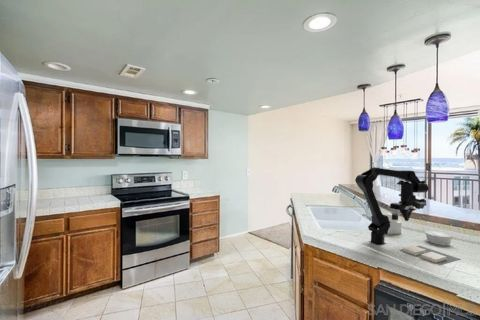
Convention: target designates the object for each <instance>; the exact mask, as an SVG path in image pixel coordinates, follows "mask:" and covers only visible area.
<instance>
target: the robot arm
mask: <svg viewBox="0 0 480 320" xmlns="http://www.w3.org/2000/svg"><path fill="white" fill-rule="evenodd" d="M378 176H386V177H392V178H395V179H398V180H399V181H397V182H396V185H400V193H399V194H398V196H399V197H400V200H399V201H398V202H391V203H390V204H389V208H390V209H391V210H392V209H393V210H397V211H399V212H400V213H401V215H402V218H403V219H404V220H405V222H408V221H409V219H410V217H411V214H413V212H415V211H416V210H420V209H424V208H425V207H426V206H427V199H425V198H419V199H418V198H417V195H415V193H416V194H419V193H424V194H425V193H427V192H428V191H429V184H427V183H426V180H423V179H420V178H419V177H418V176H417V174H416V172H415V171H414V170H409V169H408V170H407V169H397V170H395V169H388V168H382V167H377V166H376V167H375V166H373V167H370V168H369V169H368V170H366V171H363V172H362V173H361V174H359V175H357V176H356V177H355V178H354V179H355V180H354V181H355V184H356V185H357V186H358V188H359V189H360V190H361V191H362V192H363V195H364V197H365V200H366V202H367V205H368V207H369V211H370V213H371V223H369V225H368V226H367V228H368V230H369V231H370V240H369V243H371V244H374V245H377V246H383V245H387V243H386V242H385V236H387V235H388V234H389V233H388V230H389V228H390V223H391V222H390V221H389V218H388V216H387V214H386V215H385V214H383V212H382V210H381V208H380V205H379V202H378V200H377V197H376V195H375V193H374V190H373V189H374V181H376V180H377V178H378Z"/></svg>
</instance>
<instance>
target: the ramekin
mask: <svg viewBox="0 0 480 320" xmlns="http://www.w3.org/2000/svg"><path fill="white" fill-rule="evenodd" d="M424 234H425V235H426V240H427V242H429V243H432V244H435V245H439V246H446V247H448V246H450V245H451V241H452V238H453V235H451V233H447V232H444V231H438V230H426V231H425V233H424Z"/></svg>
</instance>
